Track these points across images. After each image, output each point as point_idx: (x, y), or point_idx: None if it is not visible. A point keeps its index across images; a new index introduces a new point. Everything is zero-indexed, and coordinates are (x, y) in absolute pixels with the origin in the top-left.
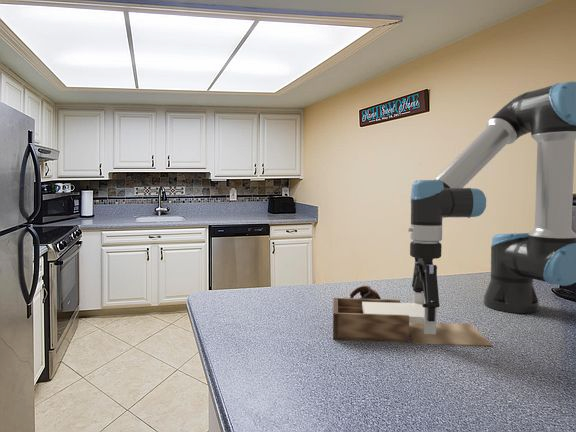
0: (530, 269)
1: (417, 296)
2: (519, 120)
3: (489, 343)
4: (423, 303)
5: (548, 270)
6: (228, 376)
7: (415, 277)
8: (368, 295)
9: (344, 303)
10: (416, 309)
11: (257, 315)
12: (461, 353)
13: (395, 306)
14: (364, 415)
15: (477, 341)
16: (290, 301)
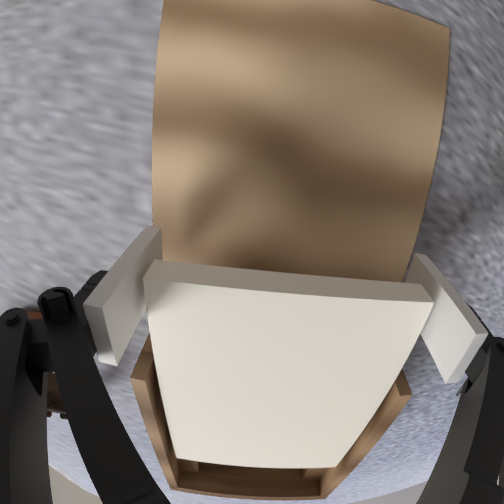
0: None
1: (122, 330)
2: None
3: (433, 26)
4: (134, 267)
5: None
6: (408, 484)
7: (41, 433)
8: (63, 408)
9: (177, 469)
10: (285, 345)
11: (178, 491)
12: (490, 183)
13: (229, 406)
14: None
15: (415, 57)
16: (74, 448)
